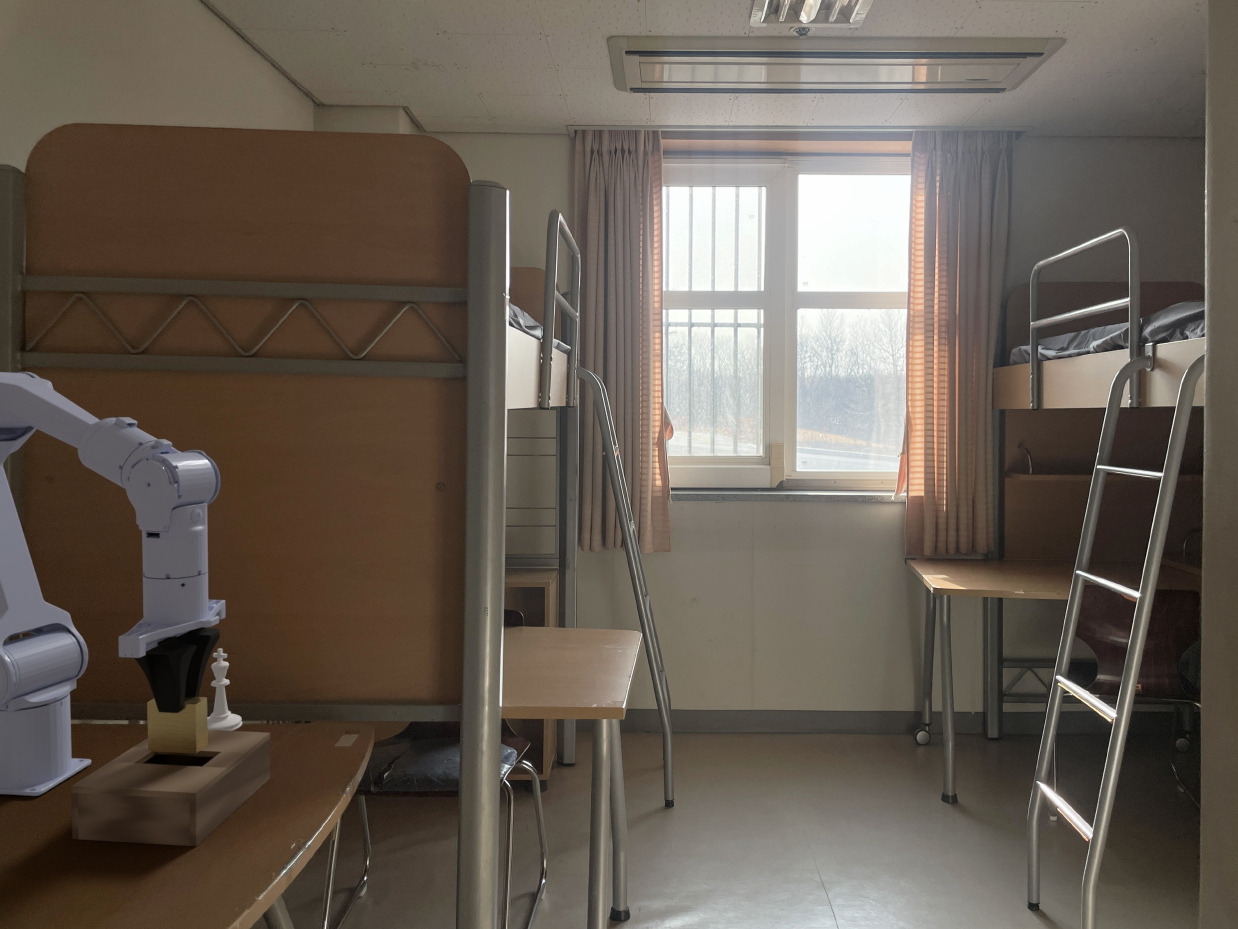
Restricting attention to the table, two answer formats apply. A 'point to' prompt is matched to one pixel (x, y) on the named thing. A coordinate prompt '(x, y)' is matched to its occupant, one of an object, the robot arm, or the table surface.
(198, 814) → the beige block with hole
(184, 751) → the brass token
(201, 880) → the table surface
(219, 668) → the chess piece
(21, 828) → the table surface
